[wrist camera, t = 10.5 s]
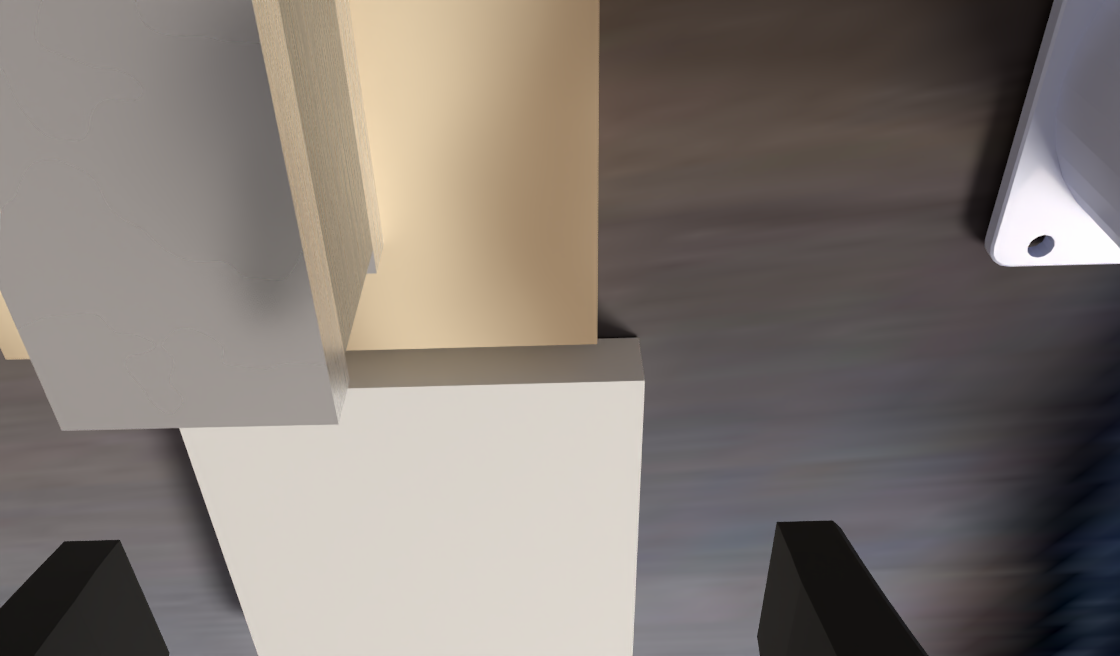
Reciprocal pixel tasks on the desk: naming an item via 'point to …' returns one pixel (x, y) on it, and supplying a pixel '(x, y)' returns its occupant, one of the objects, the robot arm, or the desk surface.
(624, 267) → the desk surface
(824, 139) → the desk surface
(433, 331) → the stand
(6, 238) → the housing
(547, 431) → the stand
